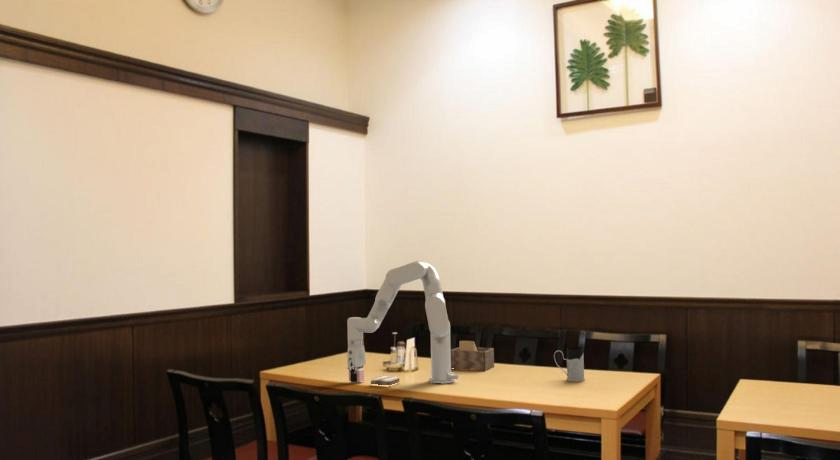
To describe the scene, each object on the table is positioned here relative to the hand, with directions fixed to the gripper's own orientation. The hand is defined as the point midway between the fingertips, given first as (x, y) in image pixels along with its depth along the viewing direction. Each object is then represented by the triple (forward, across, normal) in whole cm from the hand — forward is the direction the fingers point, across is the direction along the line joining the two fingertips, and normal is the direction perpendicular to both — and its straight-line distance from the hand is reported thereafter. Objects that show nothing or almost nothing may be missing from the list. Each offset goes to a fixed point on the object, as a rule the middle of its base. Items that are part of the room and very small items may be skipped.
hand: (356, 380), depth 323 cm
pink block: (+1, 0, 0) cm, 1 cm away
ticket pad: (+1, 0, -16) cm, 16 cm away
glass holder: (+2, +41, -94) cm, 102 cm away
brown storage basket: (+1, +56, -38) cm, 68 cm away
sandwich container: (+2, +57, -38) cm, 68 cm away
